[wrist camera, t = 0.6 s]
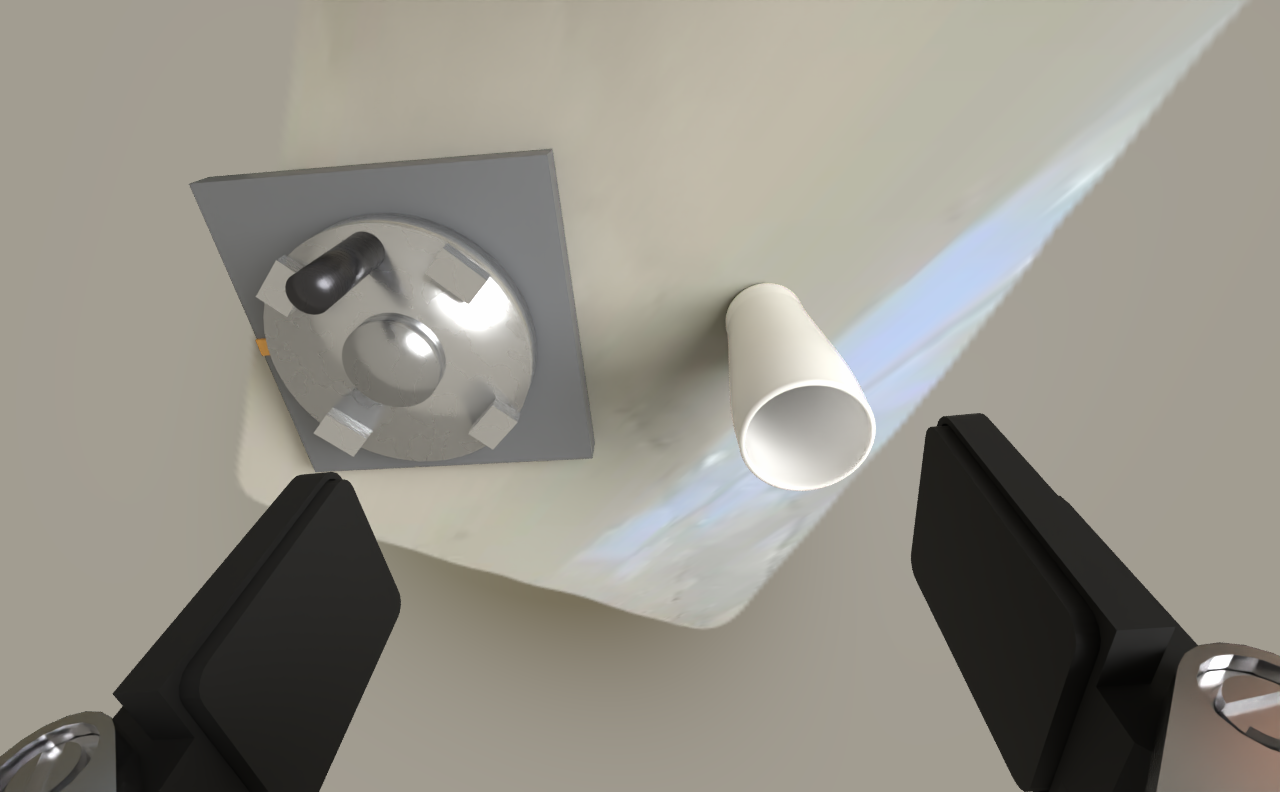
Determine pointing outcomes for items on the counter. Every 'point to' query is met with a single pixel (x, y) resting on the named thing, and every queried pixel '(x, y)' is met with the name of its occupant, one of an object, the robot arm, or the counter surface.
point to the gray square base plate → (452, 196)
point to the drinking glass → (792, 394)
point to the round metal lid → (400, 337)
